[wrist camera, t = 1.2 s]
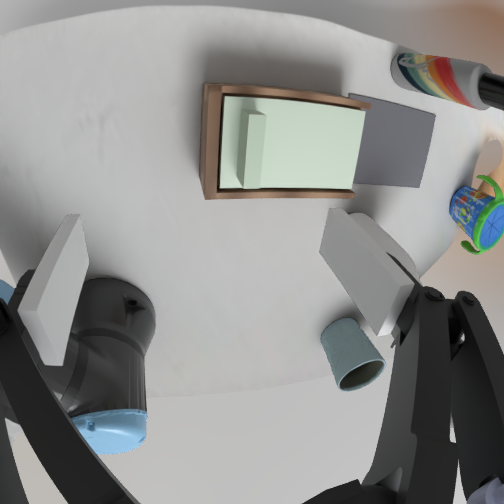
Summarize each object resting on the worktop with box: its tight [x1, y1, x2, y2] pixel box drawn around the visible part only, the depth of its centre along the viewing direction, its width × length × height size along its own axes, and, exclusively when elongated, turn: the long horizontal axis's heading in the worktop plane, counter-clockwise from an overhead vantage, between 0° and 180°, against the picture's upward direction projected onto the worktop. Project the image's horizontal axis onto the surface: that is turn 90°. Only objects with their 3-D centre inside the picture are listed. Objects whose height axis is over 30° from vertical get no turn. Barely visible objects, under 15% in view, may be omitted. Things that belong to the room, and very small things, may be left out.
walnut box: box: [200, 83, 372, 200], centre depth 35 cm, size 18×12×7 cm, turn 85°
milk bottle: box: [349, 213, 423, 287], centre depth 41 cm, size 8×8×20 cm
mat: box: [349, 94, 436, 188], centre depth 42 cm, size 17×13×1 cm
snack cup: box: [450, 175, 504, 255], centre depth 48 cm, size 16×10×10 cm
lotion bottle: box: [391, 53, 504, 111], centre depth 28 cm, size 6×6×20 cm
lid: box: [218, 96, 366, 189], centre depth 31 cm, size 16×10×5 cm, turn 85°
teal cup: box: [321, 318, 386, 392], centre depth 58 cm, size 10×10×12 cm
